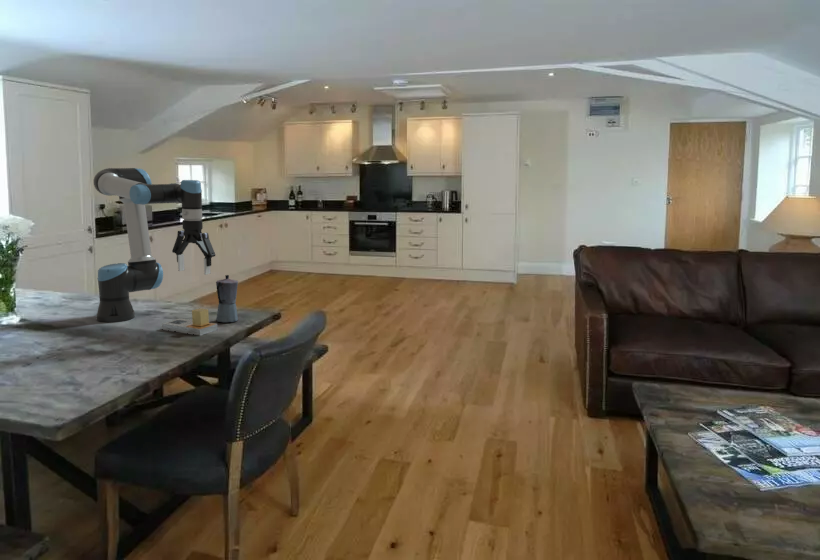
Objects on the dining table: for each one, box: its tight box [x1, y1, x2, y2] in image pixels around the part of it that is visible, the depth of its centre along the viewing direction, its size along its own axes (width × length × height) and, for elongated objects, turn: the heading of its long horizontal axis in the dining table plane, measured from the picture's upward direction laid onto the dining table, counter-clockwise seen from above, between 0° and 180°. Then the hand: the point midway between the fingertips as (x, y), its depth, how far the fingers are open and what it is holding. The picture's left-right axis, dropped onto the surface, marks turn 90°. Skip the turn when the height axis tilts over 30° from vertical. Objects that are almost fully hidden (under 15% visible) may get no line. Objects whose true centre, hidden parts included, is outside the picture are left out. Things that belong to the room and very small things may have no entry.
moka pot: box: [215, 274, 239, 323], centre depth 267 cm, size 10×15×20 cm, turn 174°
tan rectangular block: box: [191, 307, 210, 327], centre depth 251 cm, size 4×4×9 cm
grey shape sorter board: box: [161, 318, 218, 336], centre depth 254 cm, size 20×10×3 cm, turn 66°
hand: (194, 272), depth 251 cm, fingers open, 13 cm apart
